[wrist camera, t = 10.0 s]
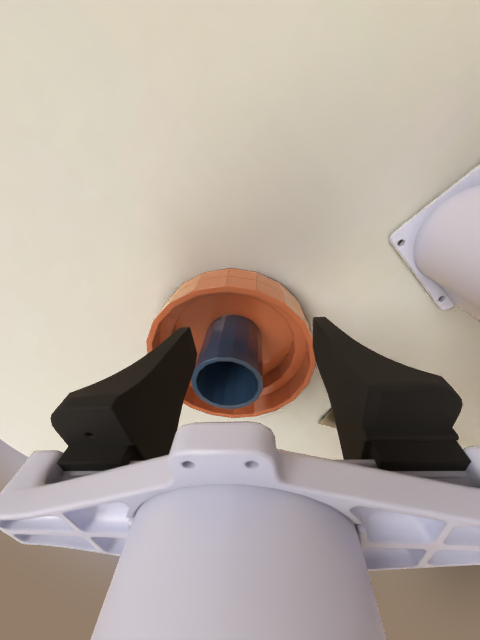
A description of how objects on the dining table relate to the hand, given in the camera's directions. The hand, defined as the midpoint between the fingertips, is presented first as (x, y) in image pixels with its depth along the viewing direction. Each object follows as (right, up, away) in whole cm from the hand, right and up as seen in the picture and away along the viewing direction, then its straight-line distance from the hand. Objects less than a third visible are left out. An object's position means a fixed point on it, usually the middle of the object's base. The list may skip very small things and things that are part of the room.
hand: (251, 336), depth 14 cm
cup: (-1, -1, +11) cm, 11 cm away
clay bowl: (-1, -1, +11) cm, 11 cm away
